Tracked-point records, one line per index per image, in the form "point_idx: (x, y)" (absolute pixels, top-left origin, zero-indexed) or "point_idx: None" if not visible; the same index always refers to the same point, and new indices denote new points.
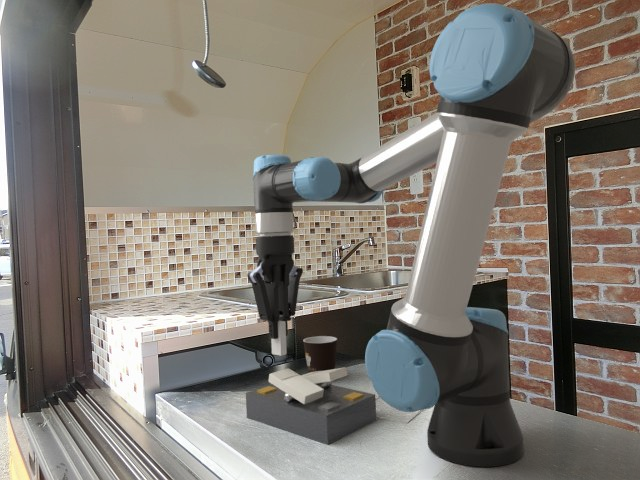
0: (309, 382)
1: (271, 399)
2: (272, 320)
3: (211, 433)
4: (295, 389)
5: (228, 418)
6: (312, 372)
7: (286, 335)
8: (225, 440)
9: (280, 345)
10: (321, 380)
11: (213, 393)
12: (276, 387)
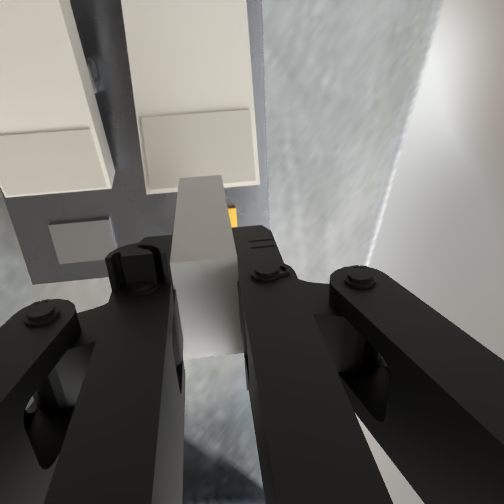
0: (137, 29)
1: (261, 135)
2: (301, 286)
3: (386, 202)
4: (243, 6)
5: (294, 258)
6: (16, 168)
7: (151, 238)
8: (398, 133)
9: (223, 195)
10: (69, 7)
11: (208, 429)
12: (164, 232)
